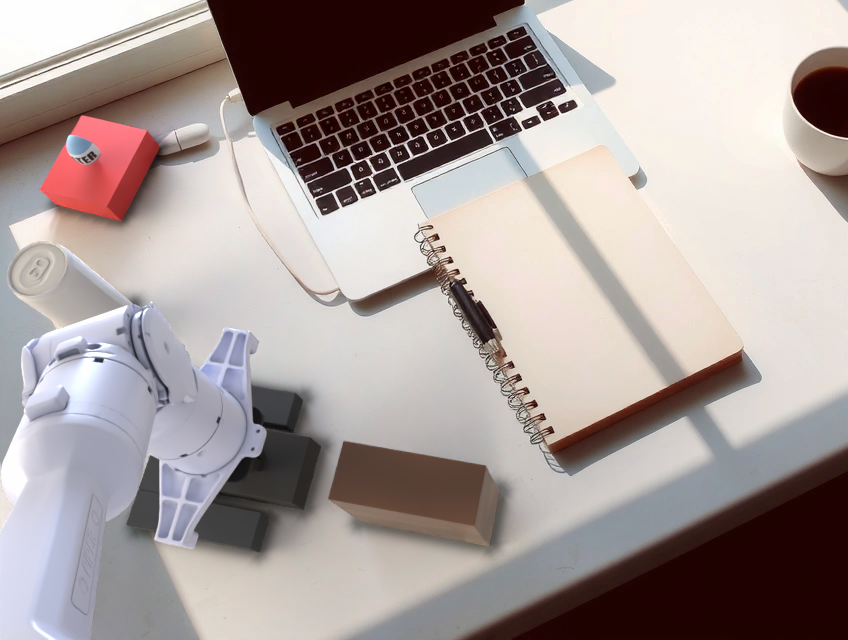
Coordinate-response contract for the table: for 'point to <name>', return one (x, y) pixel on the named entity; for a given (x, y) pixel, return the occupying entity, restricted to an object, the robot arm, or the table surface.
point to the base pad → (219, 520)
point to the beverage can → (60, 284)
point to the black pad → (280, 472)
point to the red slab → (100, 167)
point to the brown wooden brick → (415, 492)
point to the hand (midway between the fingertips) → (250, 461)
